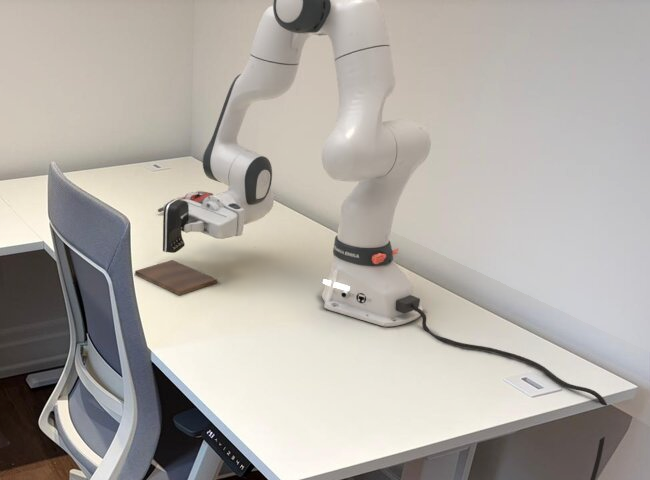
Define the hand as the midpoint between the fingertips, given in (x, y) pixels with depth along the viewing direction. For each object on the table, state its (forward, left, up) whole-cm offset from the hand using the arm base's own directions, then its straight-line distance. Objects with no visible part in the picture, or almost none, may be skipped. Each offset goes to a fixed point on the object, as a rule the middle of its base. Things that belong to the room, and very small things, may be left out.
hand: (174, 225), depth 196 cm
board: (0, -1, -13) cm, 14 cm away
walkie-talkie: (+38, -39, -14) cm, 56 cm away
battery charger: (0, 0, -6) cm, 6 cm away
